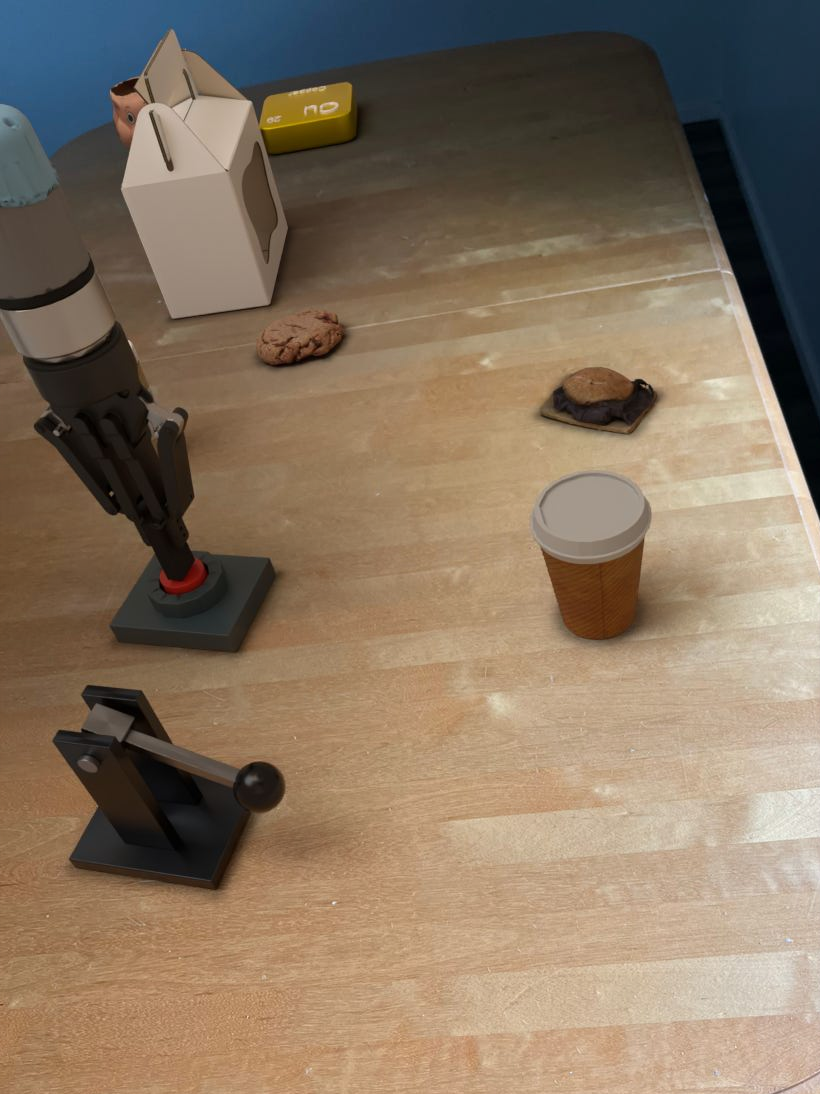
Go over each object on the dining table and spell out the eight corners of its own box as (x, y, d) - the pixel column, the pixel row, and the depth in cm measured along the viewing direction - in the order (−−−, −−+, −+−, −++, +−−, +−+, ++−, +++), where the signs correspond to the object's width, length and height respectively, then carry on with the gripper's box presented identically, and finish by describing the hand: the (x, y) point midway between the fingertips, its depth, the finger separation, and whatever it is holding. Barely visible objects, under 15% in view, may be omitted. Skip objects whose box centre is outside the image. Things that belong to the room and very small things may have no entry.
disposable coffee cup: (563, 567, 95) (550, 460, 86) (667, 583, 91) (665, 474, 83) (527, 643, 89) (510, 536, 80) (637, 663, 86) (631, 554, 77)
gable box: (199, 241, 152) (124, 28, 132) (288, 227, 151) (226, 10, 131) (171, 321, 137) (81, 94, 117) (270, 306, 136) (197, 74, 115)
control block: (117, 641, 96) (100, 611, 94) (164, 566, 103) (149, 536, 100) (236, 652, 93) (221, 621, 90) (276, 574, 100) (264, 542, 97)
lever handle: (289, 787, 76) (296, 762, 73) (271, 829, 74) (277, 805, 71) (100, 717, 75) (100, 690, 72) (76, 758, 73) (75, 731, 70)
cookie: (243, 354, 128) (236, 332, 126) (310, 314, 133) (303, 292, 131) (293, 379, 123) (286, 357, 121) (360, 337, 127) (355, 314, 125)
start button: (160, 602, 96) (152, 585, 94) (179, 571, 98) (171, 555, 97) (199, 605, 94) (192, 588, 93) (217, 574, 97) (210, 557, 96)
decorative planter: (136, 156, 178) (104, 68, 168) (207, 140, 179) (179, 51, 169) (134, 204, 164) (98, 112, 154) (211, 186, 165) (180, 93, 155)
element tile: (358, 106, 179) (351, 76, 176) (356, 141, 169) (349, 110, 166) (271, 122, 180) (263, 92, 177) (265, 157, 170) (256, 126, 167)
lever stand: (262, 788, 83) (203, 672, 73) (216, 890, 77) (146, 779, 67) (127, 771, 86) (54, 658, 76) (74, 867, 80) (-13, 759, 70)
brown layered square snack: (535, 419, 111) (531, 389, 108) (571, 375, 115) (568, 346, 113) (628, 439, 106) (626, 408, 104) (662, 392, 111) (661, 362, 108)
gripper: (169, 308, 78) (263, 545, 95) (20, 310, 82) (136, 538, 99) (123, 366, 73) (230, 604, 90) (-33, 364, 77) (99, 594, 94)
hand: (181, 569), depth 95 cm, fingers closed
